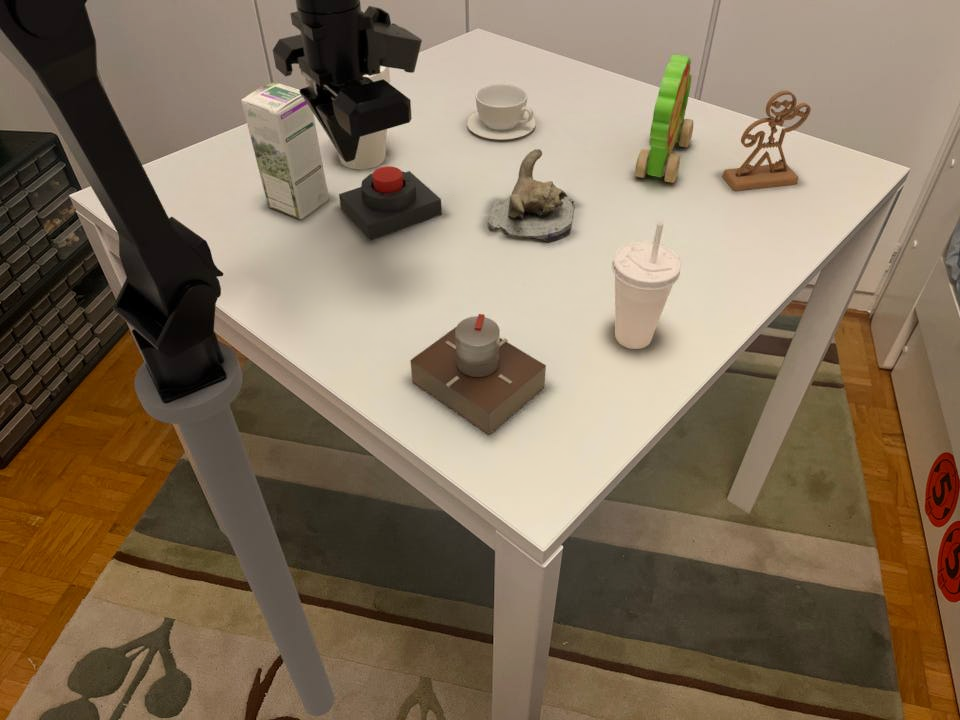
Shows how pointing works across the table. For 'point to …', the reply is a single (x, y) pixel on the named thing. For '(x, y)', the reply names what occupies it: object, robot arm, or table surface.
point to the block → (389, 206)
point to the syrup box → (286, 149)
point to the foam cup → (371, 138)
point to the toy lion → (668, 122)
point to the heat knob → (477, 346)
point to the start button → (387, 179)
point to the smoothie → (642, 288)
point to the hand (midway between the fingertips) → (348, 159)
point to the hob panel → (479, 382)
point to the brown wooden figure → (770, 173)
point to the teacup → (501, 112)
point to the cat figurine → (533, 207)
